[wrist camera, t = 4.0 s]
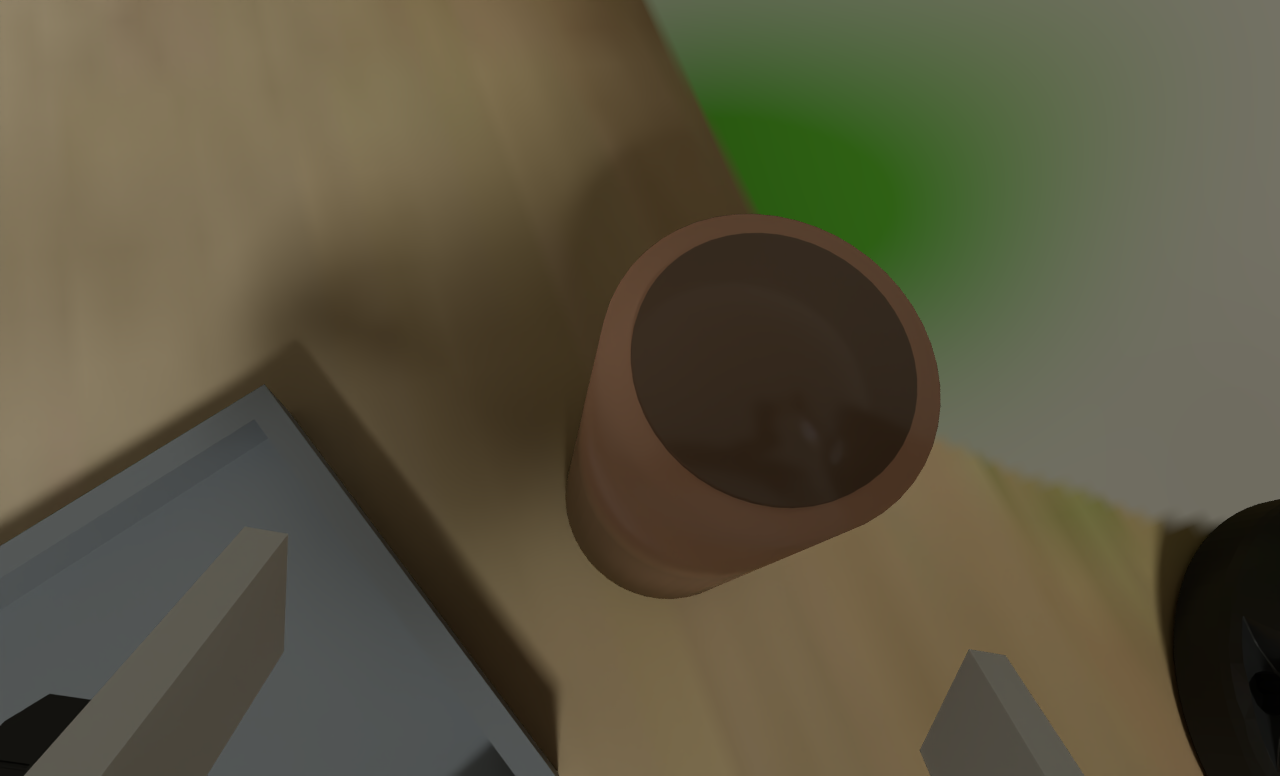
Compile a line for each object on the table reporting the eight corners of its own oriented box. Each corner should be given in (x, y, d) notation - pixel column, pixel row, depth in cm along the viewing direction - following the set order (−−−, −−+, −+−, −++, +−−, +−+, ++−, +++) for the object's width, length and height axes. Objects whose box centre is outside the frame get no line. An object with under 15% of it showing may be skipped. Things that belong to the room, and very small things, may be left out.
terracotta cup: (801, 510, 26) (1011, 390, 15) (656, 644, 24) (776, 622, 13) (673, 366, 27) (779, 156, 16) (523, 480, 25) (525, 326, 14)
